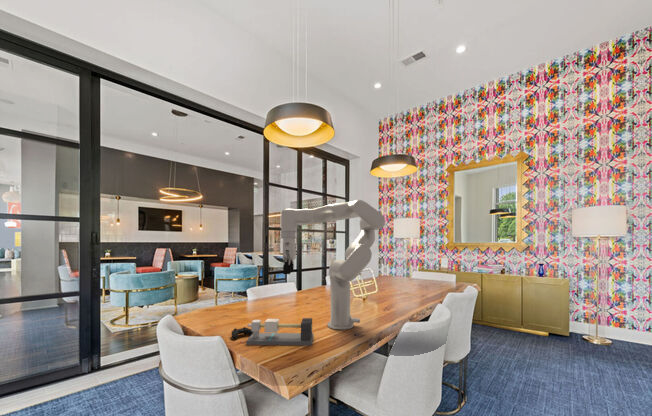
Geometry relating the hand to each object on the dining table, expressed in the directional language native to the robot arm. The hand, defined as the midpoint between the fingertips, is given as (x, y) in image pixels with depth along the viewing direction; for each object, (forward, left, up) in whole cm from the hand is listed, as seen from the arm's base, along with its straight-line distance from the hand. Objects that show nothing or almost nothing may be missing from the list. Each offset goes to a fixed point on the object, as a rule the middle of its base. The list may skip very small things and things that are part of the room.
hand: (288, 272), depth 132 cm
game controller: (+19, +6, -27) cm, 33 cm away
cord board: (+1, +11, -26) cm, 29 cm away
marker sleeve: (+5, +11, -22) cm, 25 cm away
